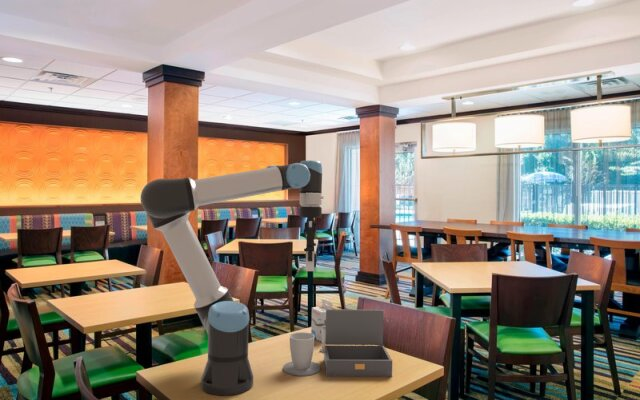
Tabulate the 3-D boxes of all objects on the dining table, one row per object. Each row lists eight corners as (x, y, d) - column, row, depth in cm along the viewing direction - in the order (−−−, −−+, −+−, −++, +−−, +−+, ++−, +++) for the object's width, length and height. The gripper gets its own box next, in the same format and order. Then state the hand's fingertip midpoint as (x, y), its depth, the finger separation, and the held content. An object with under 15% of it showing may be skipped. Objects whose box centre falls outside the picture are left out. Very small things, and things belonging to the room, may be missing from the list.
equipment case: (323, 376, 146) (324, 321, 146) (320, 358, 162) (322, 309, 162) (392, 377, 147) (393, 322, 147) (383, 359, 163) (384, 309, 163)
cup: (316, 363, 156) (316, 333, 156) (310, 372, 148) (311, 340, 148) (292, 361, 158) (293, 331, 157) (286, 369, 150) (286, 338, 149)
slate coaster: (282, 375, 146) (282, 373, 146) (283, 362, 158) (283, 360, 158) (321, 375, 147) (321, 374, 147) (319, 362, 159) (319, 360, 159)
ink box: (310, 336, 187) (311, 299, 187) (321, 335, 190) (322, 298, 190) (321, 342, 180) (322, 304, 180) (332, 341, 182) (333, 303, 182)
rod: (319, 351, 169) (319, 349, 169) (319, 351, 170) (319, 348, 170) (343, 351, 170) (343, 349, 170) (343, 351, 171) (343, 348, 171)
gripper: (322, 207, 148) (321, 274, 149) (321, 205, 173) (320, 262, 174) (298, 206, 148) (297, 273, 149) (300, 204, 173) (300, 262, 174)
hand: (310, 267), depth 161 cm, fingers open, 13 cm apart
